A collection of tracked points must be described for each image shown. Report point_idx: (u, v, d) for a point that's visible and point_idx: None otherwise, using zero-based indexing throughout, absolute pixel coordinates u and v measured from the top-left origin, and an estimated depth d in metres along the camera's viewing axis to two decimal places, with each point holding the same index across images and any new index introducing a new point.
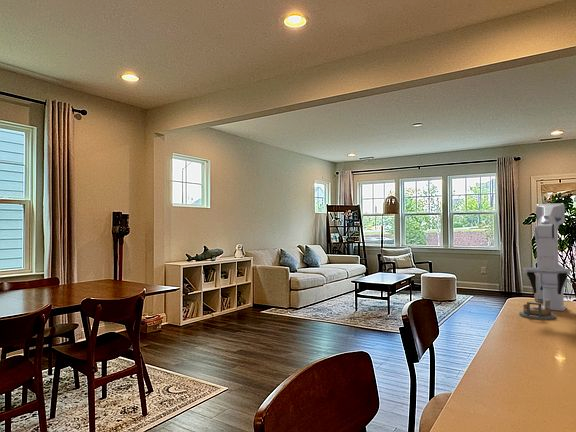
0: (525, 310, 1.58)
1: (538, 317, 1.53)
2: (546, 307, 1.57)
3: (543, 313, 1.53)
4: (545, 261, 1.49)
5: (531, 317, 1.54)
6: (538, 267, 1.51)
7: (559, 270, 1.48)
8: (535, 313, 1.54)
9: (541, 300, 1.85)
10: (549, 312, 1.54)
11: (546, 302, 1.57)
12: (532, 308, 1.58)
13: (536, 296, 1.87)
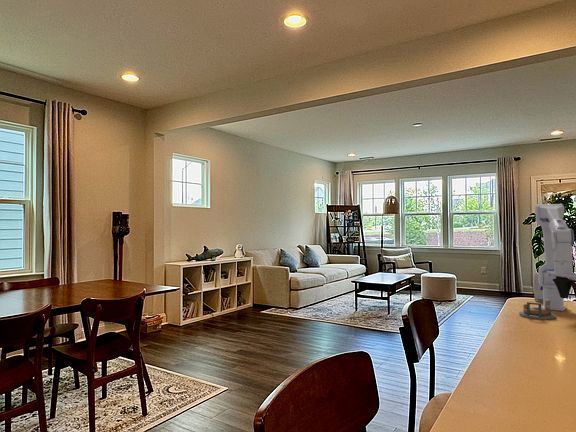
0: (525, 310, 1.58)
1: (538, 317, 1.53)
2: (546, 307, 1.57)
3: (543, 313, 1.53)
4: None
5: (531, 317, 1.54)
6: (571, 272, 1.50)
7: None
8: (535, 313, 1.54)
9: (541, 300, 1.85)
10: (549, 312, 1.54)
11: (546, 302, 1.57)
12: (532, 308, 1.58)
13: (536, 296, 1.87)
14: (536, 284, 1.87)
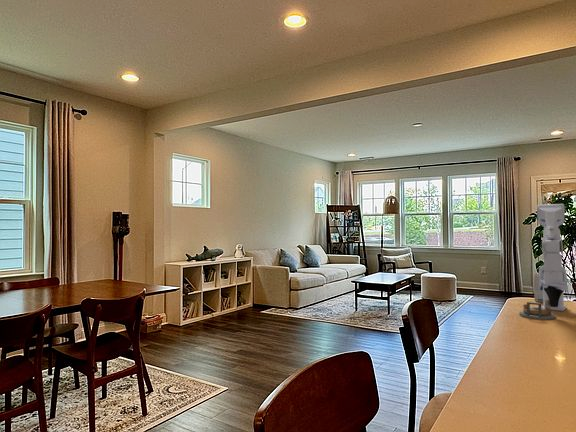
0: (525, 310, 1.58)
1: (538, 317, 1.53)
2: (546, 307, 1.57)
3: (543, 313, 1.53)
4: None
5: (531, 317, 1.54)
6: (560, 282, 1.53)
7: None
8: (535, 313, 1.54)
9: (541, 300, 1.85)
10: (549, 312, 1.54)
11: (546, 302, 1.57)
12: (532, 308, 1.58)
13: (536, 296, 1.87)
14: (536, 284, 1.87)
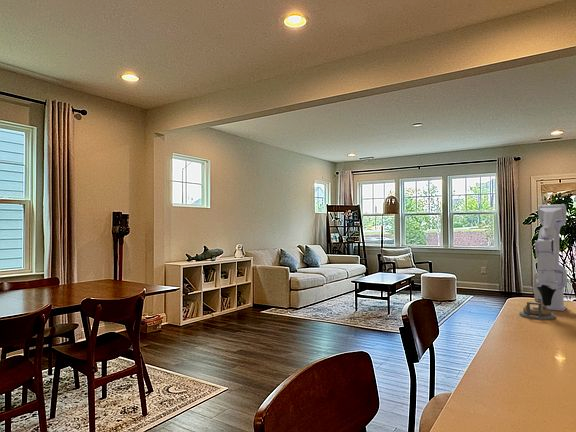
0: (531, 311, 1.55)
1: (538, 317, 1.53)
2: (544, 306, 1.59)
3: (549, 313, 1.54)
4: None
5: (531, 317, 1.54)
6: (552, 281, 1.55)
7: None
8: (543, 313, 1.53)
9: None
10: None
11: None
12: (533, 308, 1.58)
13: (536, 296, 1.87)
14: (536, 284, 1.87)
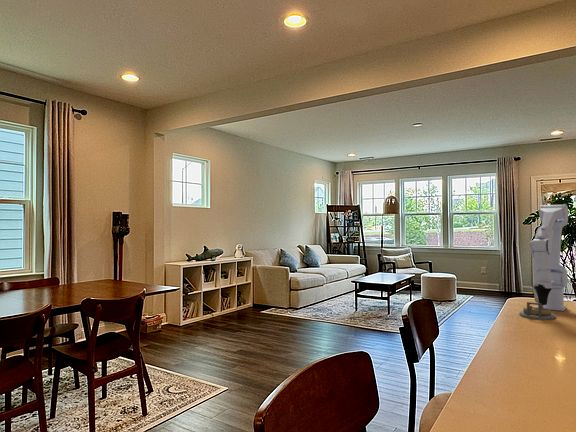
0: (535, 312, 1.54)
1: (538, 317, 1.53)
2: (541, 306, 1.60)
3: (550, 312, 1.55)
4: None
5: (531, 317, 1.54)
6: (547, 280, 1.57)
7: None
8: (546, 313, 1.53)
9: None
10: None
11: None
12: (535, 309, 1.57)
13: (536, 296, 1.87)
14: (536, 284, 1.87)
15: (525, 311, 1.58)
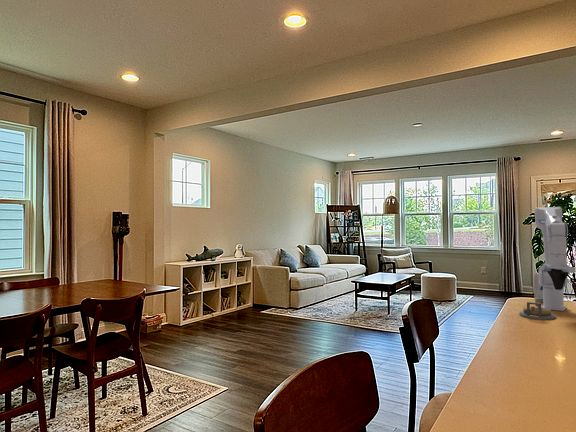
0: (538, 312, 1.54)
1: (538, 317, 1.53)
2: None
3: None
4: None
5: (531, 317, 1.54)
6: (565, 265, 1.54)
7: None
8: (549, 313, 1.54)
9: (541, 300, 1.85)
10: None
11: (539, 300, 1.60)
12: (536, 309, 1.57)
13: (536, 296, 1.87)
14: (536, 284, 1.87)
15: None
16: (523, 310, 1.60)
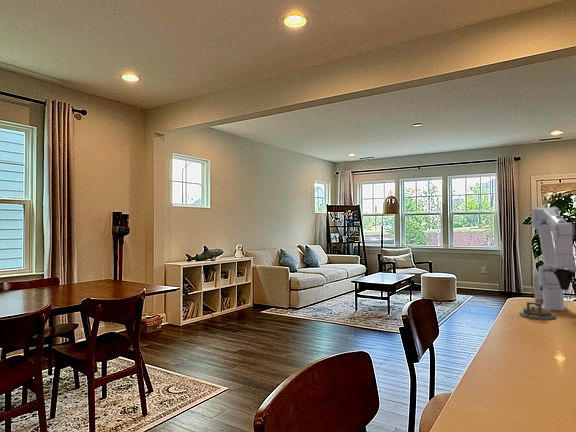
0: (538, 312, 1.54)
1: (538, 317, 1.53)
2: None
3: None
4: None
5: (531, 317, 1.54)
6: (572, 264, 1.54)
7: None
8: (549, 313, 1.54)
9: (541, 300, 1.85)
10: None
11: (539, 300, 1.60)
12: (536, 309, 1.57)
13: (536, 296, 1.87)
14: (536, 284, 1.87)
15: None
16: (523, 310, 1.60)
